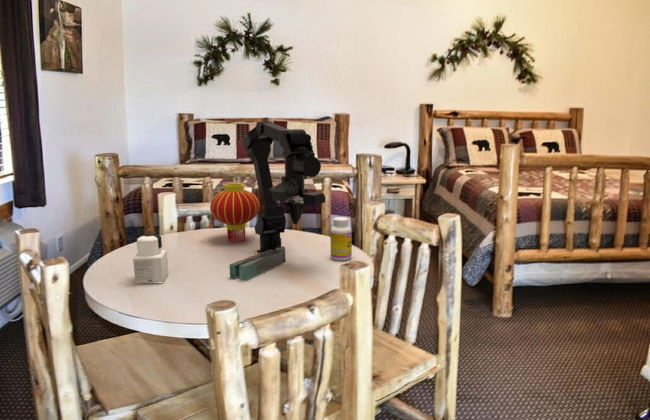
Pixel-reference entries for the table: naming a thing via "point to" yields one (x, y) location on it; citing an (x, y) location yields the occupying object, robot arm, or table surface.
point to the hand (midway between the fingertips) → (295, 223)
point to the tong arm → (261, 264)
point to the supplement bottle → (341, 239)
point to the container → (150, 260)
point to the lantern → (235, 209)
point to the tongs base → (235, 266)
